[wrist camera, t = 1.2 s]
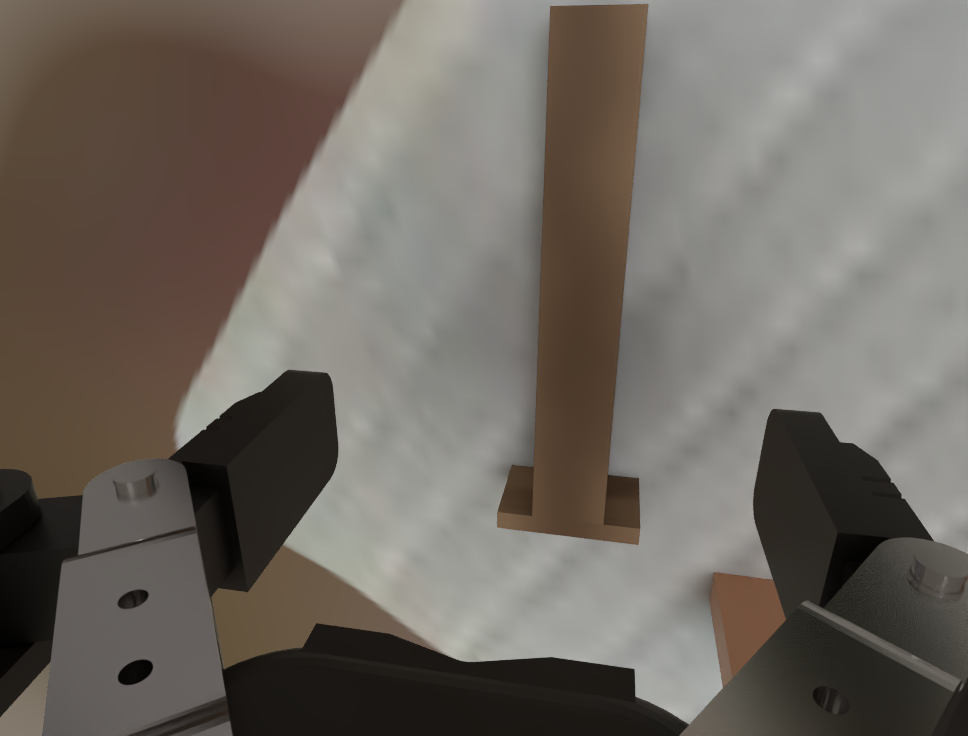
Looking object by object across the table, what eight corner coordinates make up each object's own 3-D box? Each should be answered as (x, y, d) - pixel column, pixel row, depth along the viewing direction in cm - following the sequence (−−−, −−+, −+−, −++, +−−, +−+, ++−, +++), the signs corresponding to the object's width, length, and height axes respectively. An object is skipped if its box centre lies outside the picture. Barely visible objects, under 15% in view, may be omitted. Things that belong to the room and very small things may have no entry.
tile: (894, 595, 31) (1003, 806, 22) (884, 628, 32) (985, 845, 23) (714, 572, 32) (746, 761, 23) (708, 604, 33) (738, 799, 24)
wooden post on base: (688, 16, 24) (698, 3, 20) (637, 492, 32) (638, 544, 28) (521, 18, 25) (503, 7, 21) (512, 478, 33) (497, 527, 29)
